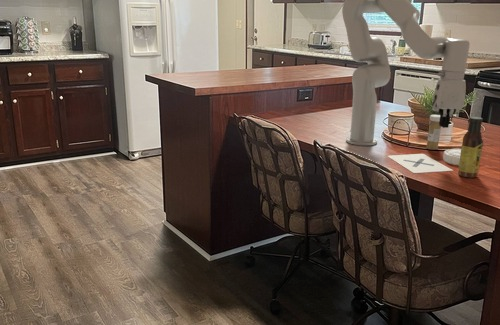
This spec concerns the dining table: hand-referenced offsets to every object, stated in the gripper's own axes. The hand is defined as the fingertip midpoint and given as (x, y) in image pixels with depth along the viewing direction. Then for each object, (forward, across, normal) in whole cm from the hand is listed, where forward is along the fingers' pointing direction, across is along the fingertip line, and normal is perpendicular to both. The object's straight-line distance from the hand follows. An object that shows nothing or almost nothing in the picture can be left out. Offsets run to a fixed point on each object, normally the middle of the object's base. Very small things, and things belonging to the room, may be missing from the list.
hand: (443, 126), depth 175 cm
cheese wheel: (+13, +8, -2) cm, 16 cm away
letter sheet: (+13, -8, -1) cm, 16 cm away
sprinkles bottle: (+14, +7, +15) cm, 21 cm away
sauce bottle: (+13, +1, -16) cm, 21 cm away
